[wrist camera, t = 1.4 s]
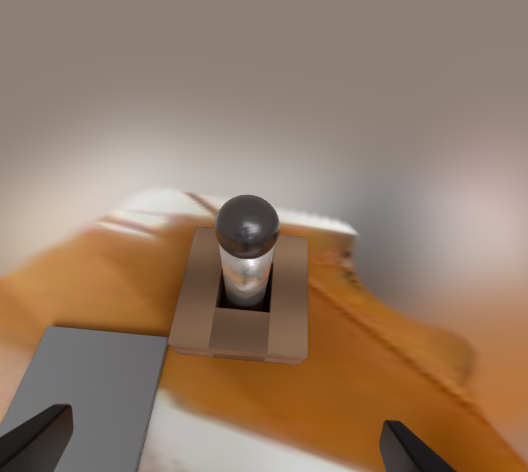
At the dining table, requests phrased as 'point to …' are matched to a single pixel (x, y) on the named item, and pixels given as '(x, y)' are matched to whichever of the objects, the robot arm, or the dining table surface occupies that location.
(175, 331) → the block
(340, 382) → the dining table surface
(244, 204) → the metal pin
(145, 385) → the slate pad
